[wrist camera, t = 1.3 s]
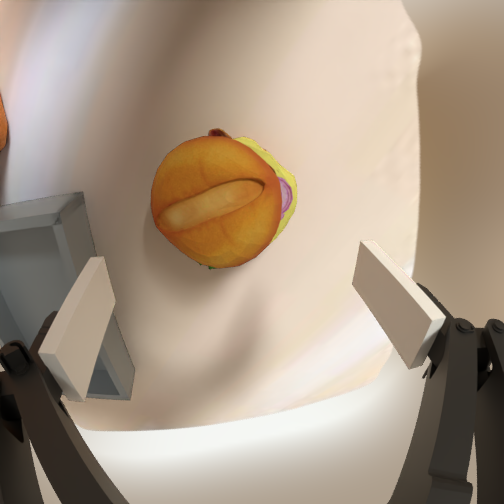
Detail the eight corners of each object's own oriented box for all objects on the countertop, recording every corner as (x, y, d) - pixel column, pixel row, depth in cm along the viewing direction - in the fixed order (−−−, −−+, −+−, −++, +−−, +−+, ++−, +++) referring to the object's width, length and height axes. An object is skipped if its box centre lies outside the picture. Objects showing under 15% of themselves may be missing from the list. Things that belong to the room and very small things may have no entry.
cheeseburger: (250, 264, 29) (238, 324, 20) (159, 204, 28) (108, 238, 19) (314, 180, 26) (335, 205, 17) (215, 113, 24) (181, 101, 15)
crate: (-27, 212, 22) (-52, 231, 17) (82, 191, 23) (59, 212, 19) (40, 364, 33) (30, 389, 29) (135, 370, 35) (130, 400, 31)
